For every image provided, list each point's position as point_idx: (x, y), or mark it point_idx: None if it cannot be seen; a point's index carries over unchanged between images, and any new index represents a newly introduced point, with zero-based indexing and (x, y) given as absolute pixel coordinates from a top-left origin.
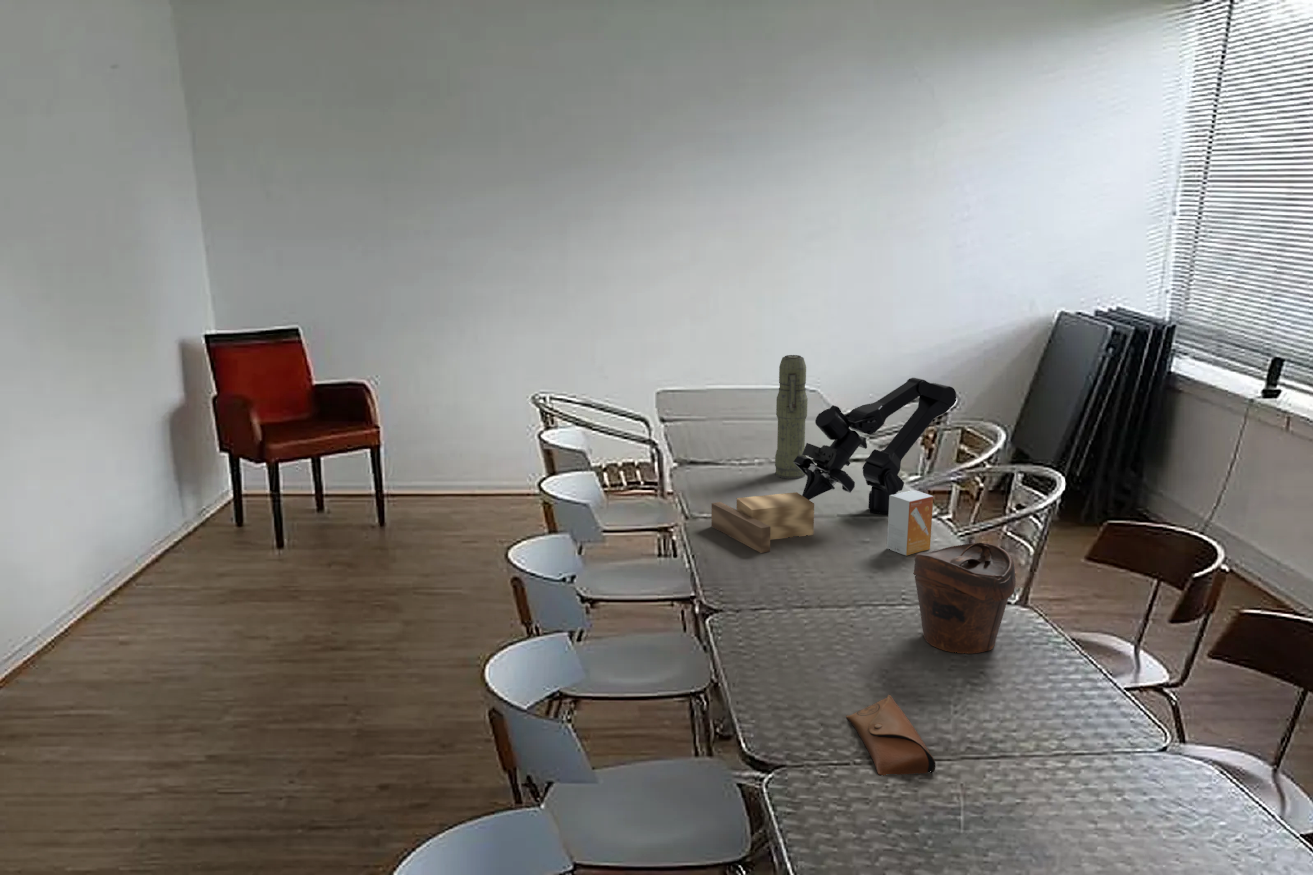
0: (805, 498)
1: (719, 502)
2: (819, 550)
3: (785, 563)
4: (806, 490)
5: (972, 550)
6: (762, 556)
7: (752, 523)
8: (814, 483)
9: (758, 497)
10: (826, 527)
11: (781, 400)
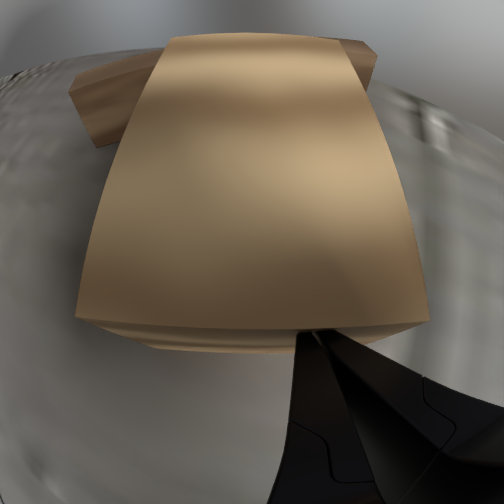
0: (231, 319)
1: (371, 52)
2: (26, 278)
3: (27, 162)
4: (351, 372)
5: None
6: (84, 128)
7: (123, 59)
8: (318, 478)
9: (339, 80)
10: (231, 454)
11: None
